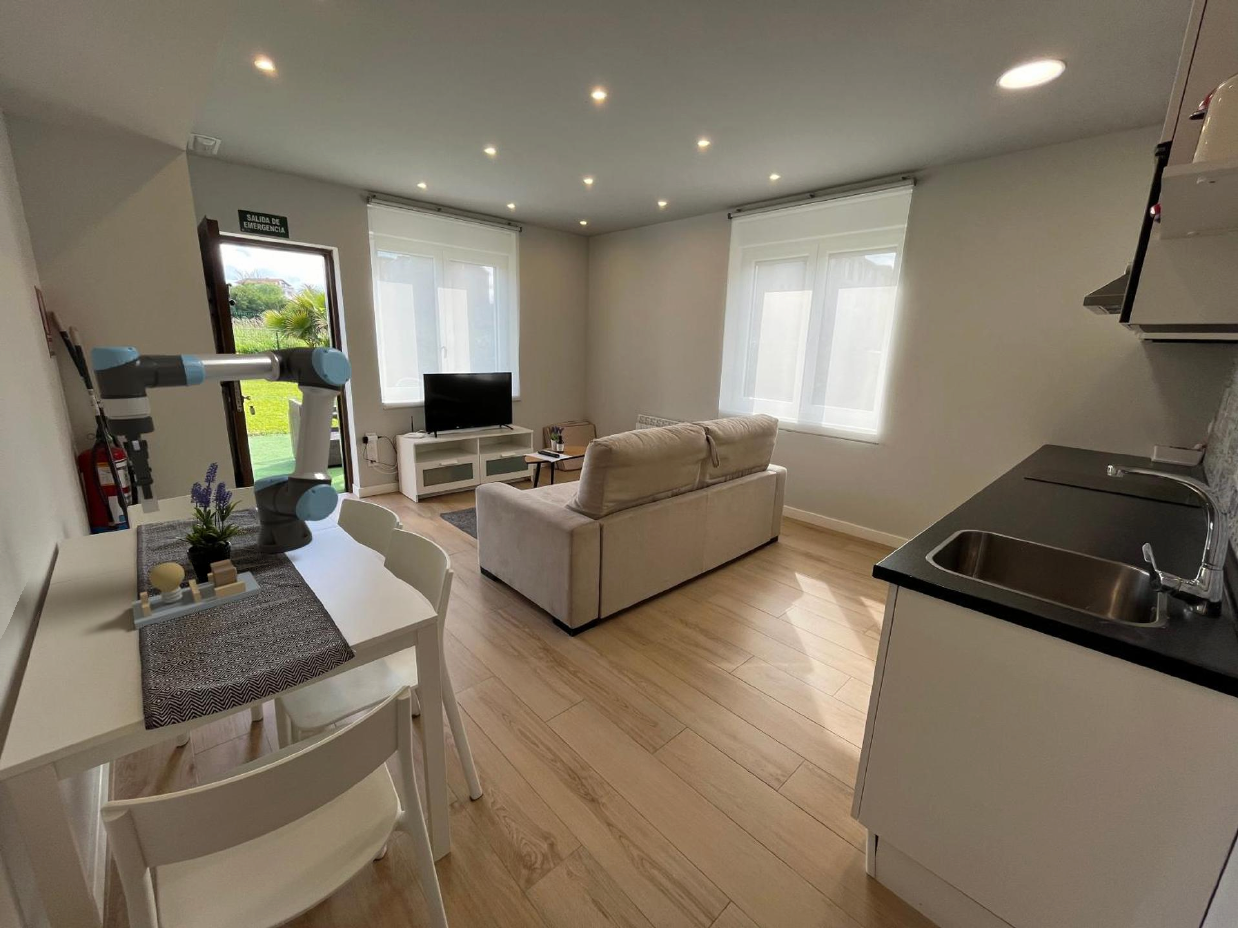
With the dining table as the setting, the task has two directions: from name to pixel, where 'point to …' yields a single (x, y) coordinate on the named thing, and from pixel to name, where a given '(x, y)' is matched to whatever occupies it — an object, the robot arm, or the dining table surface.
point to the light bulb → (168, 581)
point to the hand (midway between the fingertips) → (149, 505)
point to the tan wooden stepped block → (223, 573)
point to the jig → (193, 599)
